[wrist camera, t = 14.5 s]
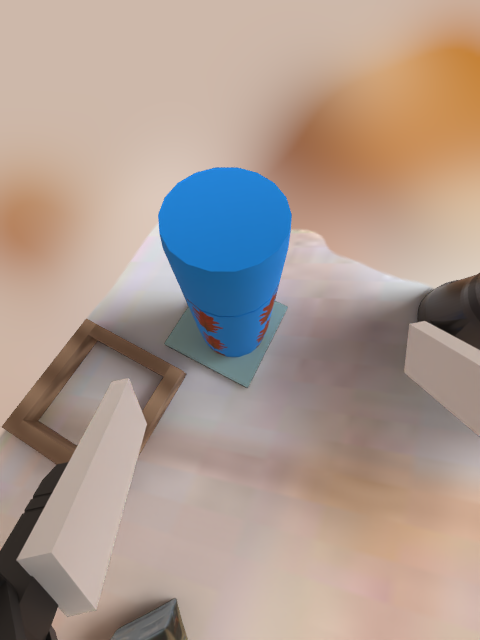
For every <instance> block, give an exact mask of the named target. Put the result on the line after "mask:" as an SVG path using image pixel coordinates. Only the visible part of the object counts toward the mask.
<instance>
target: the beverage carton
mask: <svg viewBox="0 0 480 640" xmlns="http://www.w3.org/2000/svg"><path fill="white" fill-rule="evenodd" d="M110 640H188V639H187V636H186V632H185V629H184V626H183V623H182V619H181V615H180V611H179V608H178V604H177V600H176V599H173V600H171V601H169V602H168V603H166V604H164V605H163V606H161V607H159V608H157V609H156V610H154V611H152V612H150V613H148V614H146V615H144V616H142V617H140V618H138V619H136V620H134V621H133V622H131V623H128V624H126V625H124V626H123V627H121V628H119V629H118V630H117V631H116V632H115V634H114V635H113V637H112V638H111V639H110Z"/></svg>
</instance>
